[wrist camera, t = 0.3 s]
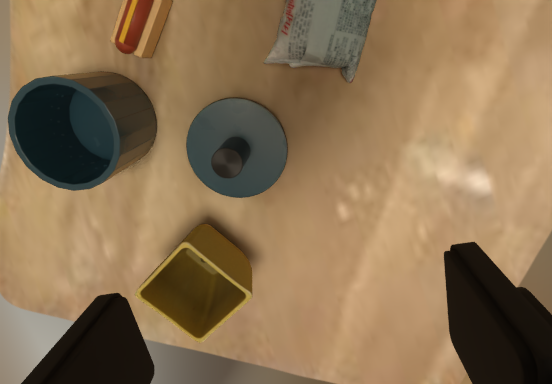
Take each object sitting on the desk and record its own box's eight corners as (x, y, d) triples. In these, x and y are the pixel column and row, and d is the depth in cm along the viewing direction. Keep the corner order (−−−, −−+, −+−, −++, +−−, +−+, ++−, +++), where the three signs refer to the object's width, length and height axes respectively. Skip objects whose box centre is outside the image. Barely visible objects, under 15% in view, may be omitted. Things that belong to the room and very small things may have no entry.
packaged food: (266, 61, 37) (260, 63, 32) (294, -78, 33) (292, -99, 28) (350, 82, 37) (357, 86, 32) (389, -54, 33) (404, -72, 28)
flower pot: (264, 251, 44) (254, 297, 36) (218, 293, 47) (199, 345, 39) (208, 203, 43) (184, 240, 34) (164, 250, 46) (132, 294, 37)
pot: (82, 53, 38) (22, 53, 30) (170, 101, 39) (135, 113, 31) (56, 137, 41) (-3, 157, 34) (138, 179, 42) (99, 208, 35)
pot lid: (214, 77, 38) (197, 82, 32) (306, 128, 39) (305, 141, 33) (174, 166, 42) (153, 183, 36) (259, 210, 43) (252, 234, 37)
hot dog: (143, -20, 35) (124, -28, 31) (174, -2, 35) (158, -9, 32) (121, 44, 37) (101, 43, 34) (150, 60, 38) (133, 61, 34)
